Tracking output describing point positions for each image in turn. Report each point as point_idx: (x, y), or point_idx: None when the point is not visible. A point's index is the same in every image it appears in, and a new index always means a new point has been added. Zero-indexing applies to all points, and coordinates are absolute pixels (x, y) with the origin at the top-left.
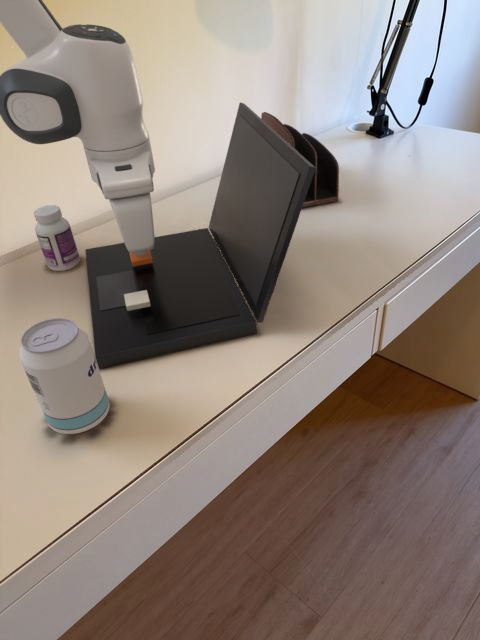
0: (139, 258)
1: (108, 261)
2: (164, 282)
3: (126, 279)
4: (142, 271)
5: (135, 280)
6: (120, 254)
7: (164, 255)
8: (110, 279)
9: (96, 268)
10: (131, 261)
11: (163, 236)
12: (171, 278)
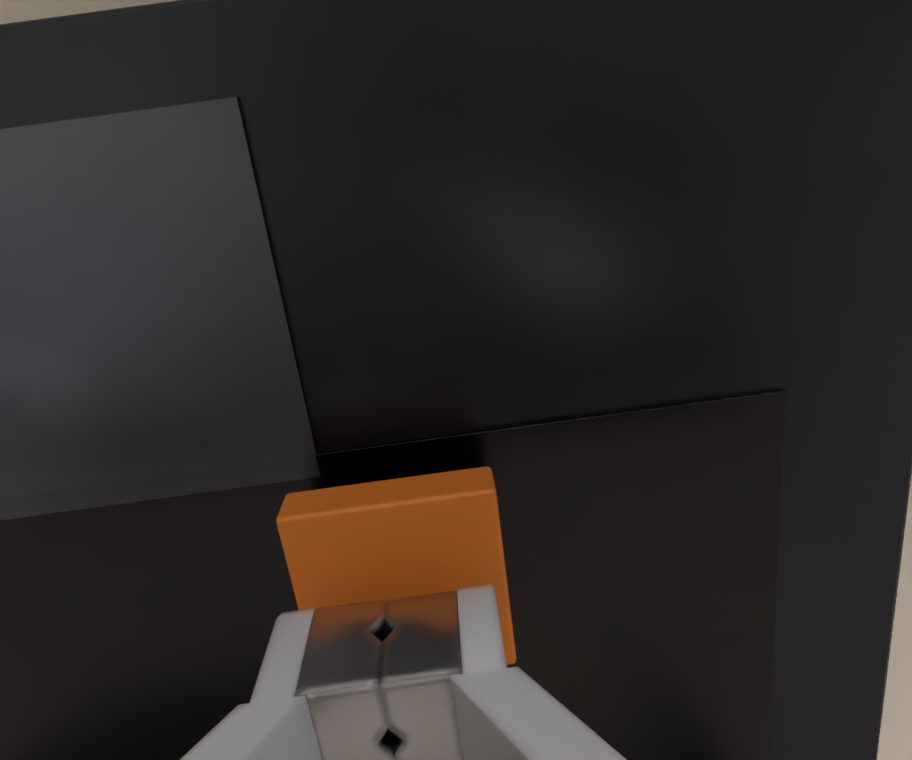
0: (340, 588)
1: (569, 212)
2: (69, 697)
3: (149, 412)
4: (275, 540)
5: (119, 490)
6: (677, 330)
7: None
8: (164, 259)
9: (445, 82)
10: (292, 517)
11: (870, 673)
12: (128, 739)
